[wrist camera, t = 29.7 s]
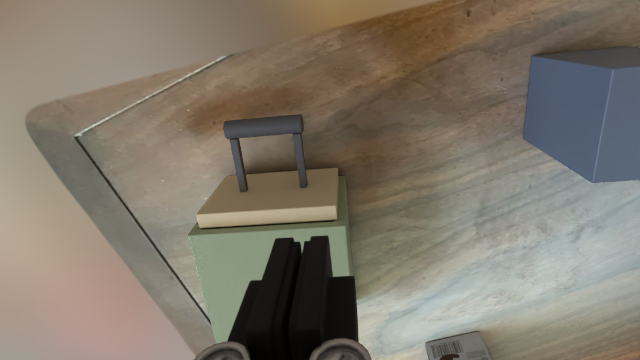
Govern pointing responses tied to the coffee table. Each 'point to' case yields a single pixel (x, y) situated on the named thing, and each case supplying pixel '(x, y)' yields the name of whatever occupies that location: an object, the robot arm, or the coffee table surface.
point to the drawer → (271, 184)
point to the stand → (587, 111)
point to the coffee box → (459, 348)
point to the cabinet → (257, 258)
